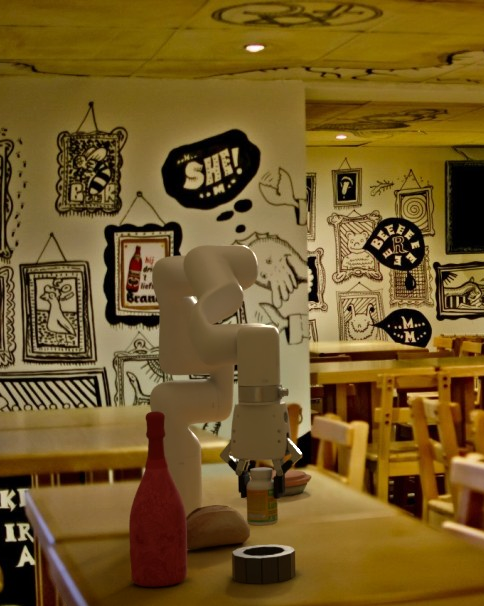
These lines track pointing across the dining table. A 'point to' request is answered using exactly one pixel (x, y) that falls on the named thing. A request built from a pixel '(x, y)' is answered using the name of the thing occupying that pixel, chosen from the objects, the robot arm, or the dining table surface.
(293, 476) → the pie
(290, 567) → the tape roll
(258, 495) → the supplement bottle
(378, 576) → the dining table surface
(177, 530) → the wine bottle
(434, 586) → the dining table surface
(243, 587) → the dining table surface
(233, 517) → the bread roll
